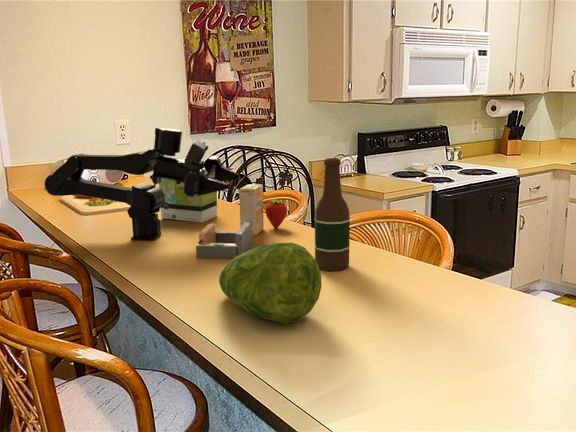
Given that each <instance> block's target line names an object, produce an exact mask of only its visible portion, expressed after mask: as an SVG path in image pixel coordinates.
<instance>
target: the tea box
mask: <svg viewBox="0 0 576 432" xmlns="http://www.w3.org/2000/svg"><path fill="white" fill-rule="evenodd" d="M176 182H177V181H174V180H169V179H164V178H162V180H161V183H158V188H160V189H162V191H163V192H164V195H165V202H164V204H163V205H162V206H161V207H160V216H161V220H175V221H185V222H192V223H197V224H198V223H200V224H202V223H205V222H207V221H210V220H212V219H214V218H217V216H218V199H217V193H218V191H217V192H213V193H208V194H204V195H200V196H197V195H196V196H195V197H194V198H193V197H188V196H186V194H185V193H184V183H181V184H176ZM194 191H196V190H194Z"/></svg>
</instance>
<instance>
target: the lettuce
mask: <svg viewBox="0 0 576 432" xmlns="http://www.w3.org/2000/svg"><path fill="white" fill-rule="evenodd" d="M218 284H219V287H220V289H221V291H222V292H223V294H224V295H225V297H226V298H227V299H228V300H229V301H230V302H232V303H233V304H235V305H237V306H238V307H240V308H241V309H243V310H245V312H247V313H249V314H250V315H252V316H253V317H257V318H260V319H264V320H269V321H273V322H277V323H281V324H285V325H287V324H291V323H296V322H299V321H300V320H302V319H303V318H304V317H306V316H307V315H309V313H310V312H311V311H312V310H313V309H314V307H315V306H316V304H317V302H318V300H319V298H320V294H321V291H322V286H323V285H322V273H321V270H320V269H319V267H318V264H317V262H316V260H315V256H313V255H312V254H311V253H310V252H309V250H307V248H306V247H305V246H302V245H300V244H298V243H294V242H278V243H277V242H276V243H270V244H265V245H261V246H257V247H252V248H251V249H249V250H248V251H247V252H244V253H242V254H240V255H238V256H236V257H235V258H234V259H230V261H228V262H227V263H226V264H225V266H224V267H223V269H222V270H221V272H220V273H219V276H218Z"/></svg>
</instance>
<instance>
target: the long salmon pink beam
mask: <svg viewBox="0 0 576 432" xmlns="http://www.w3.org/2000/svg"><path fill="white" fill-rule="evenodd" d="M215 231H216V223H209V224H207V225H206V226H205V227H204V228H203V229H202V230H201V231H199V233H198V242H197V243H198V244H201V243H216V234H215Z"/></svg>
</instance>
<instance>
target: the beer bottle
mask: <svg viewBox="0 0 576 432" xmlns="http://www.w3.org/2000/svg"><path fill="white" fill-rule="evenodd" d="M323 165H324V180H323V190H322V195H321V197H320V199H319V200H318V201H317V204H316V207H315V211H314V259H315V260H316V262H317V264H318V267H319V270H320V271H325V272H342V271H344V270H346V269H348V268H349V265H350V236H351V235H350V227H351V226H350V224H351V223H350V222H351V221H350V217H351V215H350V210H349V207H348V204H347V202H346V200H345V199H344V197H343V195H342V185H341V184H342V183H341V167H340V166H341V165H342V162H341V159H339V158H338V157H336V158H335V157H331V158H330V157H328V158H325V159H324V162H323Z"/></svg>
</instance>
